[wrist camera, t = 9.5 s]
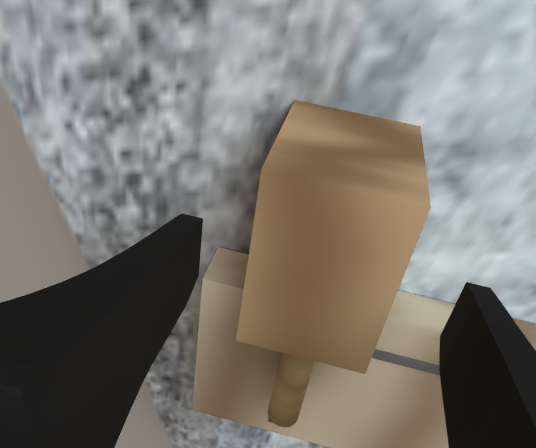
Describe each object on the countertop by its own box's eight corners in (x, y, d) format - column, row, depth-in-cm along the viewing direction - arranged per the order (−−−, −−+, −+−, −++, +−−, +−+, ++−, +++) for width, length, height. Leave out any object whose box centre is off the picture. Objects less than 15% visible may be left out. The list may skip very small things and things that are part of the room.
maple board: (752, 376, 18) (791, 428, 16) (628, 488, 22) (648, 538, 20) (218, 246, 20) (201, 280, 18) (205, 374, 24) (191, 411, 22)
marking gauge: (420, 125, 15) (430, 206, 11) (341, 357, 22) (330, 464, 17) (295, 99, 16) (261, 169, 12) (253, 334, 22) (222, 433, 18)
